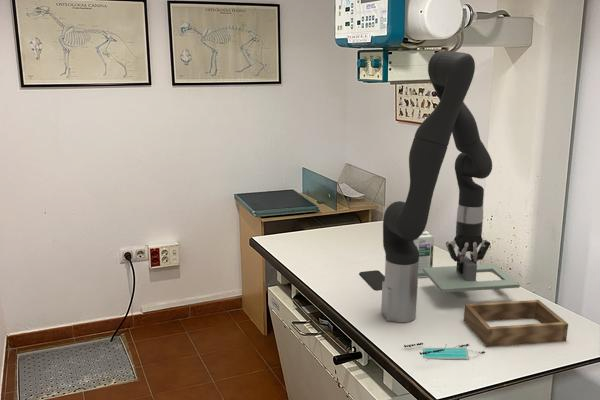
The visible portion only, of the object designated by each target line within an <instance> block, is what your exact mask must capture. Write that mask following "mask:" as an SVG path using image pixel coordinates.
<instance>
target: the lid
mask: <svg viewBox="0 0 600 400" xmlns="http://www.w3.org/2000/svg"><path fill="white" fill-rule="evenodd" d="M463 263H464V264H463V274H460V273H459V272H458V271H457V265H453V266H452V265H449V266H448V265H447V266H432V267H429V268H423V272H424V273H425V274H426V275H427V276H428V277H427V278H428V279H429V280H430V281H431V282H432V283H433V284H434V286H435V287H436V288H437V289H438V291H440V293H455V292H471V291H474V292H475V291H488V290H502V289H519V288H520V287H521V284H520V283H518V281H516V280H515V279H514V278H512V277H511V275H509V274H508V273H507V272H505V271H504V270H503V269H502V268H500V267H499V266H498V265H497V264H496V263H487V264H486V263H484V264H483V263H482V264H475V263H474V262H473V261H471V258H470V257H468V255H465V256H464V260H463ZM478 273H494V275H496V276H497V277H498V278H500V279H497V280H496V279H495V280H480V281H479V280H478V281H477V274H478Z"/></svg>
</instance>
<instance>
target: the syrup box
mask: <svg viewBox="0 0 600 400" xmlns="http://www.w3.org/2000/svg"><path fill="white" fill-rule="evenodd" d="M413 241H414V244H415V246H416V247H417V249H418V251H419V266H418V279H420V278H429V277H428V276H427V275H426V274H425V273H424V272H423V268H429V267H434V266H433V265H434V263H433V260H434V242H435V236H434V235H433V234H432V233H430V232H429V231H427V230H426V231H425V230H424V231H423V233H422V234H421V236H420V237H419V238H417V239H416V240H413Z"/></svg>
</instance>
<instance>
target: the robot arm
mask: <svg viewBox="0 0 600 400" xmlns="http://www.w3.org/2000/svg"><path fill="white" fill-rule="evenodd" d="M475 69H476V62H475V59H474V57H473V56H472V55H471V54H469V53H466V52H459V51H451V50H439V51H437V52H434V54H433V55H432V56H431V57H430V59H429V62H428V66H427V73H428V77H429V80H430V82H431V85H432V87H433V88H434V91H435V93H436V95H437V97H438V99H439V102H438V104H437V105H436V107H434V109H433V111H431V113H430V114H429V115H428V116H427V117H426V118H425V119H424V120H423V121H422V122H421V124H420V125H419V126H418V128H417V129H416V131H415V134H414V137H413V140H412V144H411V147H410V149H409V154H408V168H409V169H408V170H409V188H408V189H409V190H408V193H407V196H406V200H405V201H401V200H399V201H395V202H393V203H391V204H389V205H388V207H387V208H386V209H385V211H384V214H383V220H382V221H383V222H382V236H383V237H382V246H383V250H384V254H385V266H384V276H385V281H383V282H382V290H381V307H380V308H381V309H380V311H381V313H382V315H383V317H384V318H385V319H384V320H386V322H387V321H388V322H395V323H408V322H409V323H410V322H412V321H414V320H415V319H416V316H417V302H418V301H417V298H418V284H419V283H418V281H419V280H418V279H419V278H418V266H419V251H418V249H417V247H416V246H415V244H414V241H413V240H416V239H417V238H419V237H420V236H421V234H422V233H423V232H425V229H426V227H427V223H428V219H429V216H430V210H431V205H432V201H433V200H432V199H433V195H434V191H435V187H436V184H437V182H438V178H439V174H440V171H441V168H442V165H443V162H444V160H445V156H446V154H447V150H448V146H449V144H450V139H451V137H452V138H453V141H454V142H453V143H454V145H455V148H456V150H457V151H459V152H460V153H459V154H458V155H457V156H456V158H455V161H454V173H455V176H456V181H457V185H458V187H457V188H458V194H459V195H458V205H457V212H456V221H455V223H456V224H455V226H456V227H455V237H454V238H453V240H452V241H446V242H445V246H446V249H447V250H448V251H447V252H448V254H449V256H450V258H451V259H452V260H453V261H454V262H456V266H457V271H458V272H459V273H460V274H463V264H464V263H463V260H464V256H467V255H466V254H467V253H468V252H469V255H470V257H469V258H470V260H471V261H473V262H474V263H475V264H476V265H478V264H477V263H478V261H481V260H484V258H485V255H486V253H487V252H488V250H489V248H490V246H491V242H489V241H488V240H487V239H483V237H482V235H483V234H482V233H483V221H484V196H485V193H484V192H485V189H484V188H483V186H482V185H480V184H478V183H476V182H475V181H474V179H473V178H475V179H481V180H482V179H483V180H484V179H486V178H488V177H489V175H490V174H491V173H492V170H493V161H492V160H493V159H492V157H491V155H490V154H489V152H488V150H487V148H486V146H485V145H484V143H483V142H482V140H481V136H480V133H479V128H478V124H477V122H476V118H475V117H474V115H473V113H472V112H471V110H470V109H469V107H468V106H467V105H466V103H465V102H464V101H465V99H466V96H467V94H468V91H469V90H470V87H471V84H472V82H473V79H474V77H475V76H474V75H475ZM456 246H457V253H456V251H455V248H456ZM479 246H480V247H479ZM478 247H479V249H478Z"/></svg>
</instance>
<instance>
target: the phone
mask: <svg viewBox="0 0 600 400" xmlns="http://www.w3.org/2000/svg"><path fill="white" fill-rule="evenodd" d="M358 275H359V276H360V277H361V278H362V279H363V281H365V282H366V283H367V285H368V286H369V287H370V288H371V289H372V290H373V291H382V282H383V281H385V274H383V273H382V272H381V270H376V269H375V270H366V271H360V272H359V274H358Z"/></svg>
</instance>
